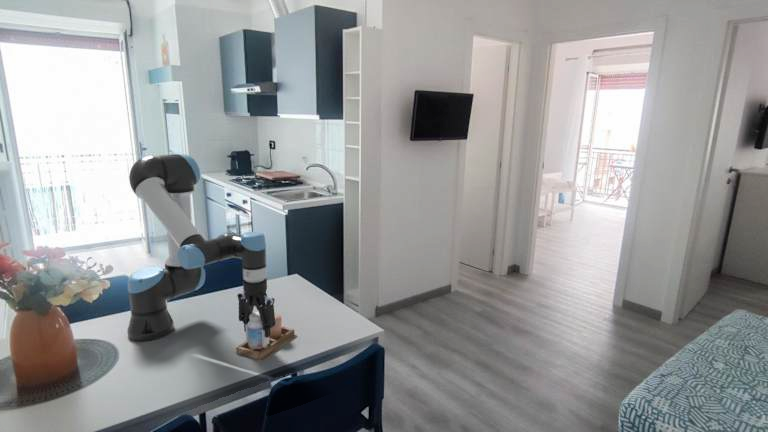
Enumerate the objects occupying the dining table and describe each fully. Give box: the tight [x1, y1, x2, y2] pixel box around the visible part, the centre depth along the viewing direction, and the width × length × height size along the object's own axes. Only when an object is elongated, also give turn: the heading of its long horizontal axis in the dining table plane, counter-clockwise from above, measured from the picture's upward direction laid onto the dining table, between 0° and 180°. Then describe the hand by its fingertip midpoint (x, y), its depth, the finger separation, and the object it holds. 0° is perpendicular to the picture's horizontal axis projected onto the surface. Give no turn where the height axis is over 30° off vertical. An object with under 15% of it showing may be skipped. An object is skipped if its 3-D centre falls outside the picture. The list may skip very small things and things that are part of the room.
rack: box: [234, 325, 297, 361], centre depth 152 cm, size 12×19×3 cm, turn 156°
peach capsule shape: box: [269, 313, 283, 340], centre depth 155 cm, size 5×5×8 cm
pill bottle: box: [248, 311, 264, 349], centre depth 146 cm, size 6×6×11 cm
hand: (257, 342), depth 148 cm, fingers closed on pill bottle, 6 cm apart
